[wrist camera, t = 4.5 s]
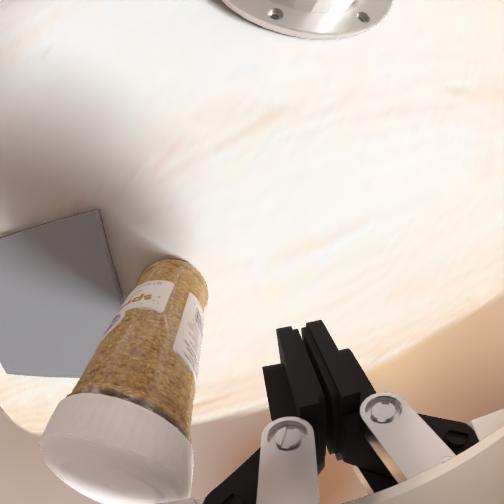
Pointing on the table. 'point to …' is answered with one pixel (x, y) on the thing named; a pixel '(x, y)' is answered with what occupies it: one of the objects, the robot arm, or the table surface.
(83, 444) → the sprinkles bottle
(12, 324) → the mat
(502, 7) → the table surface
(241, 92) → the table surface
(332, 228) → the table surface
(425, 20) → the table surface
